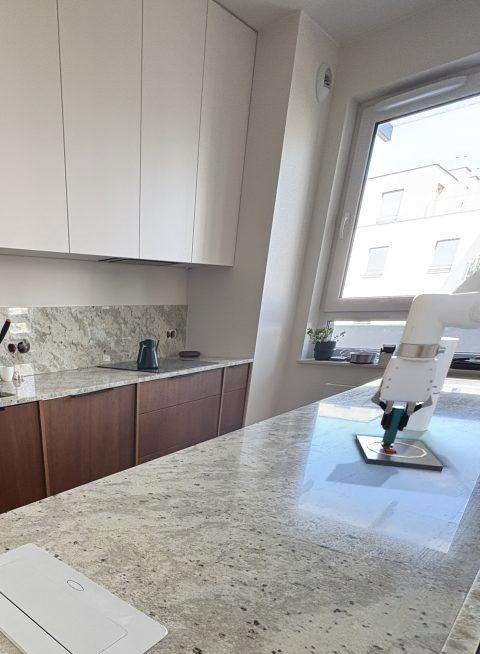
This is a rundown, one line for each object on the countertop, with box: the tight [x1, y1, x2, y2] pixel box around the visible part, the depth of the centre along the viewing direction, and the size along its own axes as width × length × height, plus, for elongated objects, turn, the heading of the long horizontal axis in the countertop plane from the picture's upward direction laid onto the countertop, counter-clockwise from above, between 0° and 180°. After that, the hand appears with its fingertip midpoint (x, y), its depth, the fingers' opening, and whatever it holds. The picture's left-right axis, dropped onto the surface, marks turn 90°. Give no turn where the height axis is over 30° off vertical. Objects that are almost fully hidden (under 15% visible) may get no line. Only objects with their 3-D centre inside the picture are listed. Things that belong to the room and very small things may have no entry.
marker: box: [382, 405, 405, 447], centre depth 106 cm, size 3×3×10 cm
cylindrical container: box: [403, 336, 460, 432], centre depth 121 cm, size 7×7×25 cm
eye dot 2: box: [386, 449, 395, 453], centre depth 105 cm, size 2×2×1 cm
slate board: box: [355, 435, 444, 472], centre depth 106 cm, size 15×20×1 cm
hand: (392, 428), depth 106 cm, fingers closed on marker, 2 cm apart
